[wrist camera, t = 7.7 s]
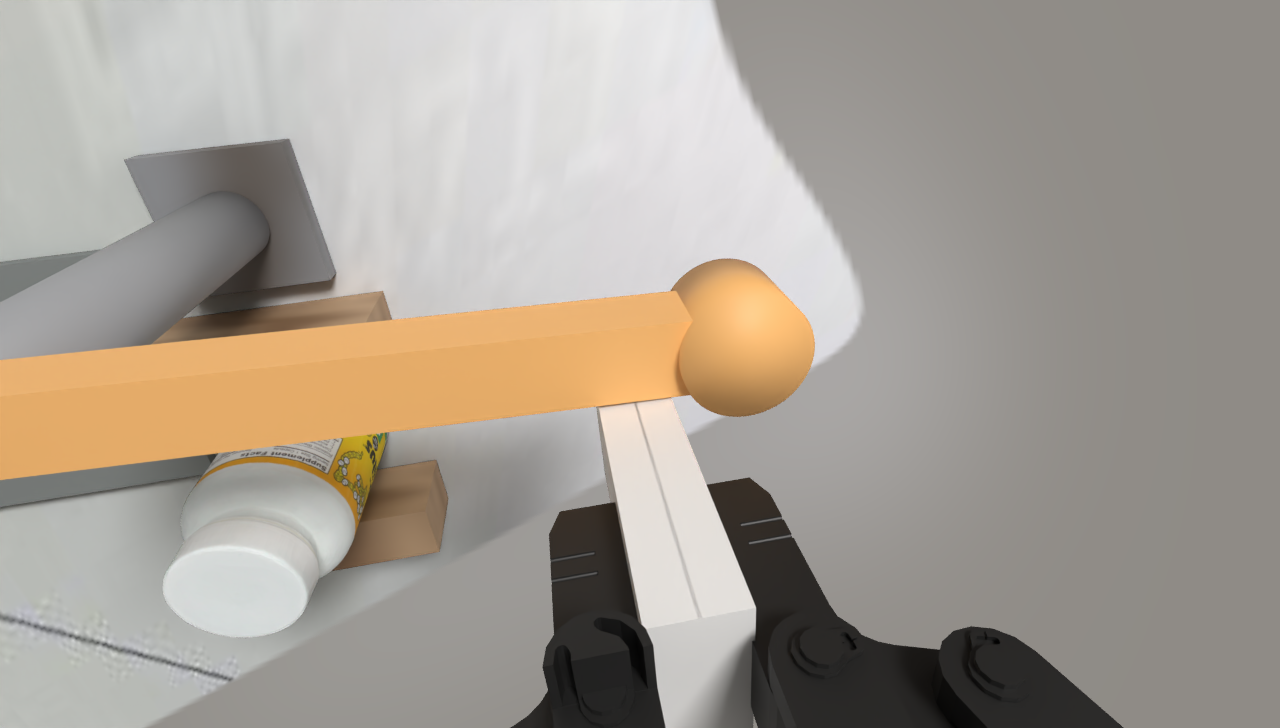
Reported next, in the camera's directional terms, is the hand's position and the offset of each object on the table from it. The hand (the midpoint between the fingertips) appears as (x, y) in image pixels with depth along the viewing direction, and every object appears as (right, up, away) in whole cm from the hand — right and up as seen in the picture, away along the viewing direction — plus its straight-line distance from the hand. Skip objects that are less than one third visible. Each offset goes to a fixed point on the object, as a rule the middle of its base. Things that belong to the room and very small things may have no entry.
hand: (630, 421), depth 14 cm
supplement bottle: (-14, -1, +13) cm, 19 cm away
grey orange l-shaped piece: (-7, +7, +9) cm, 13 cm away
